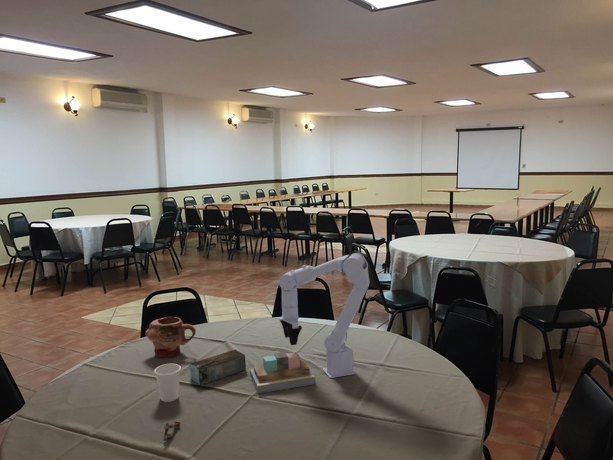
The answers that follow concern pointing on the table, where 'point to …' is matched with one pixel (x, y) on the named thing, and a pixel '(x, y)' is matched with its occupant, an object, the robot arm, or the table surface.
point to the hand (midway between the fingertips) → (290, 340)
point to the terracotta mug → (168, 336)
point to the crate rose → (293, 360)
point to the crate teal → (270, 363)
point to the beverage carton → (217, 367)
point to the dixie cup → (168, 381)
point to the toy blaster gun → (167, 426)
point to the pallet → (280, 373)
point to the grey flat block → (282, 382)
